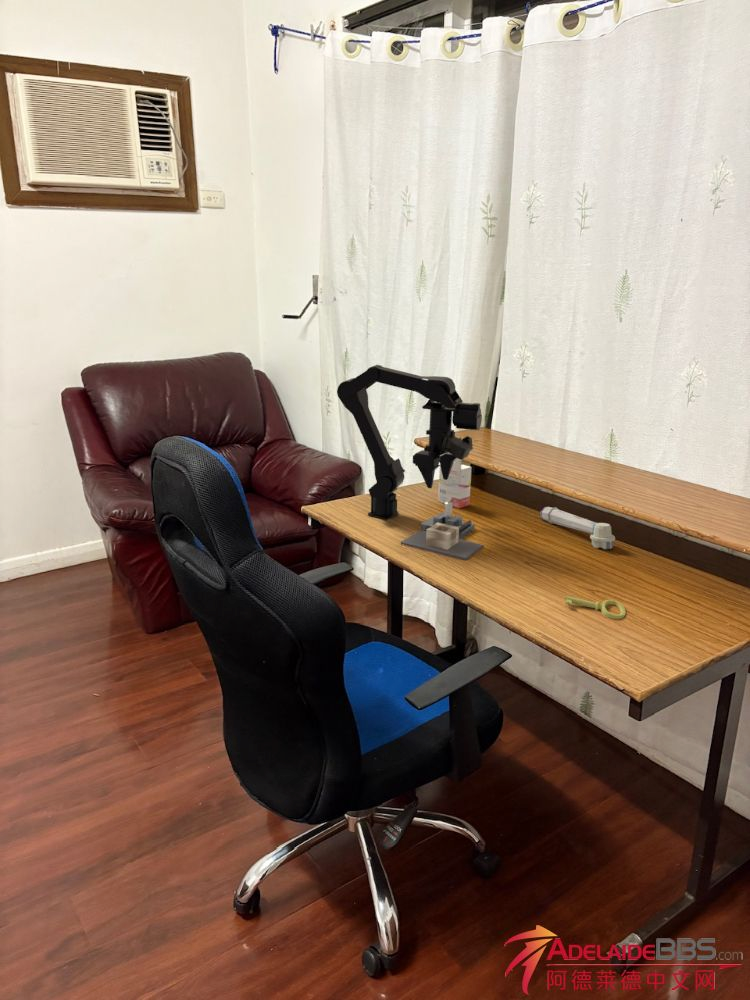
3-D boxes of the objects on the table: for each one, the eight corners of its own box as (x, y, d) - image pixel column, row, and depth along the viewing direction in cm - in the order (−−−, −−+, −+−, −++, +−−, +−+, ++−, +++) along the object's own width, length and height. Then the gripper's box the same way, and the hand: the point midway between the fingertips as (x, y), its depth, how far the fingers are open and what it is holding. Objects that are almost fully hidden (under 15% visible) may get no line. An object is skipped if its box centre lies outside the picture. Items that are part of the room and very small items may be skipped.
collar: (425, 544, 181) (426, 529, 180) (437, 537, 186) (437, 522, 185) (447, 549, 178) (448, 534, 177) (458, 542, 183) (459, 527, 182)
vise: (420, 529, 193) (421, 502, 190) (434, 520, 199) (435, 494, 197) (461, 538, 187) (462, 511, 184) (474, 529, 193) (476, 502, 191)
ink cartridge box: (470, 505, 212) (473, 456, 207) (459, 509, 209) (462, 459, 204) (448, 498, 218) (450, 450, 213) (437, 501, 214) (439, 453, 210)
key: (562, 604, 154) (563, 595, 153) (619, 605, 154) (621, 596, 153) (570, 620, 147) (572, 611, 146) (631, 621, 147) (632, 612, 146)
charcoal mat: (400, 544, 183) (400, 541, 182) (420, 532, 191) (420, 530, 190) (466, 560, 174) (466, 558, 173) (483, 547, 182) (483, 544, 182)
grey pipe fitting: (553, 504, 202) (619, 521, 180) (553, 527, 204) (619, 547, 182) (538, 507, 200) (604, 524, 178) (538, 530, 201) (603, 550, 179)
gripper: (452, 438, 178) (449, 498, 183) (483, 424, 193) (479, 480, 198) (412, 431, 183) (410, 490, 188) (446, 418, 198) (443, 473, 203)
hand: (437, 483), depth 194 cm, fingers open, 9 cm apart
